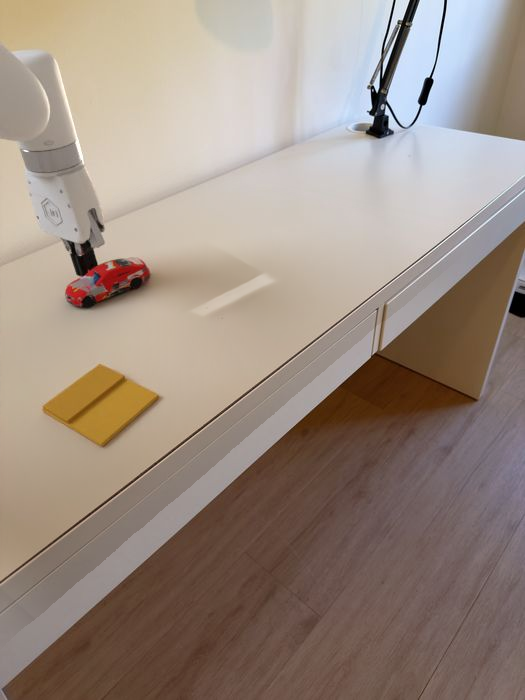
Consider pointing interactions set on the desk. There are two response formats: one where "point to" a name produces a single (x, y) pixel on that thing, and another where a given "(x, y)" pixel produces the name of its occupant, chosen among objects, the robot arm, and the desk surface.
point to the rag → (100, 404)
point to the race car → (107, 281)
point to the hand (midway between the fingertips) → (88, 272)
